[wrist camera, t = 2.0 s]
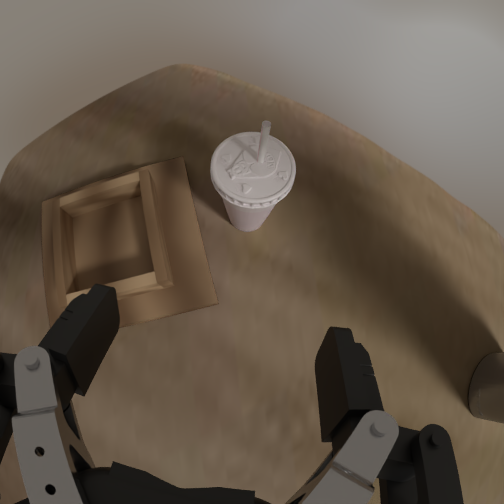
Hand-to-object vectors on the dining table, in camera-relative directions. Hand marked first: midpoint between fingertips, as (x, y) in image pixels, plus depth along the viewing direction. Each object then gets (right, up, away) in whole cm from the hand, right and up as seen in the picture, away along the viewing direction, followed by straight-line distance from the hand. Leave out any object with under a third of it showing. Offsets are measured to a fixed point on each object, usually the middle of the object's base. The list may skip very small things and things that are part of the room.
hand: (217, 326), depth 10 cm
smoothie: (+1, +6, +20) cm, 21 cm away
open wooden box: (-13, +3, +18) cm, 22 cm away
